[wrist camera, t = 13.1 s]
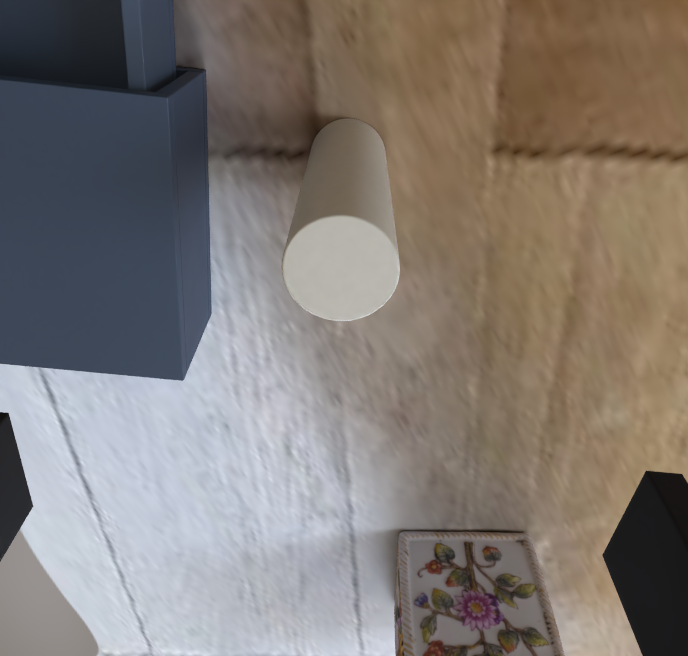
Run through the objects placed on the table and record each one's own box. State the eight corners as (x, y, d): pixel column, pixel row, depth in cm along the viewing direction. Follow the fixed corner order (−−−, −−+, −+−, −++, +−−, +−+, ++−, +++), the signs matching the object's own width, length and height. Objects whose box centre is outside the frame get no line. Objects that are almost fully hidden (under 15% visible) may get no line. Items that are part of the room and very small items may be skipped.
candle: (322, 107, 33) (299, 199, 21) (396, 132, 34) (417, 236, 21) (301, 180, 36) (269, 303, 23) (371, 202, 36) (377, 334, 24)
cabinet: (-66, 40, 32) (-173, 60, 26) (206, 69, 33) (167, 97, 26) (-5, 293, 40) (-75, 357, 34) (211, 314, 41) (183, 381, 34)
